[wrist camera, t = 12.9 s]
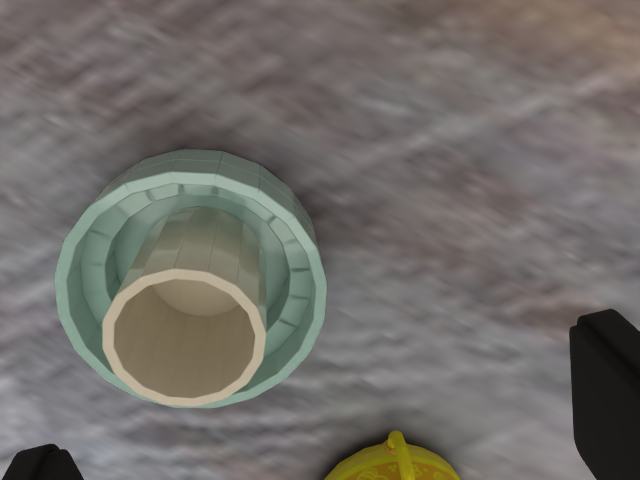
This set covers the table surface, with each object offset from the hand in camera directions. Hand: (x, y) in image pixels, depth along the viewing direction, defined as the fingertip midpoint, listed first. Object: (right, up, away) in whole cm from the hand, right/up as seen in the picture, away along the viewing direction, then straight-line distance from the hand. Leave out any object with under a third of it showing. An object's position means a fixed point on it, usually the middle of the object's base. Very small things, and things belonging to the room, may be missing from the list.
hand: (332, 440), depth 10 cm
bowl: (-7, +3, +22) cm, 23 cm away
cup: (-7, +2, +22) cm, 23 cm away
